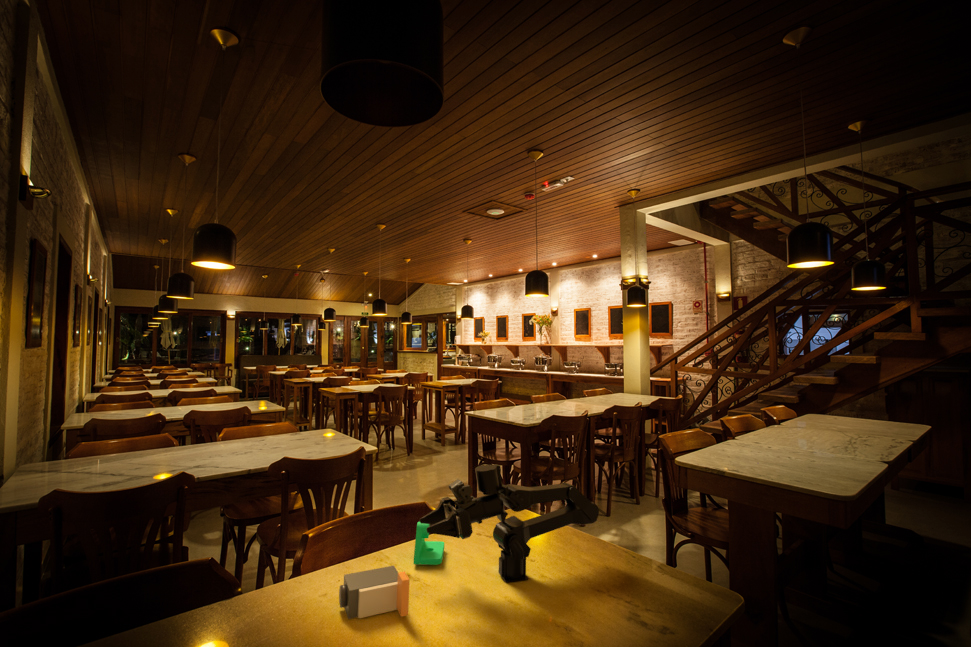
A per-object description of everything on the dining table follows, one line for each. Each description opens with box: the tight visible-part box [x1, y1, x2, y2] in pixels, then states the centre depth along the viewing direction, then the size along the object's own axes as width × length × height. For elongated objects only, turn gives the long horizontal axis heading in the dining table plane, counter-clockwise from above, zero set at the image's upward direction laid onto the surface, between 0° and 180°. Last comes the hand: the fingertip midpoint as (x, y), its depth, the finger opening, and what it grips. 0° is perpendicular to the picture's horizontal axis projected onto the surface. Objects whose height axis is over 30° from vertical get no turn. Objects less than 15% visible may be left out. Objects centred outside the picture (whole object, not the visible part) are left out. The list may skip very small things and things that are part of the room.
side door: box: [357, 571, 411, 619], centre depth 96 cm, size 10×5×8 cm, turn 116°
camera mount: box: [413, 521, 445, 566], centre depth 126 cm, size 12×8×10 cm, turn 1°
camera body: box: [338, 565, 399, 620], centre depth 101 cm, size 13×8×6 cm, turn 116°
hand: (423, 525), depth 109 cm, fingers open, 9 cm apart
